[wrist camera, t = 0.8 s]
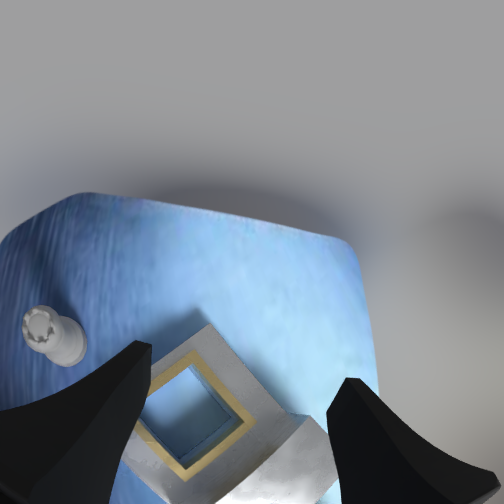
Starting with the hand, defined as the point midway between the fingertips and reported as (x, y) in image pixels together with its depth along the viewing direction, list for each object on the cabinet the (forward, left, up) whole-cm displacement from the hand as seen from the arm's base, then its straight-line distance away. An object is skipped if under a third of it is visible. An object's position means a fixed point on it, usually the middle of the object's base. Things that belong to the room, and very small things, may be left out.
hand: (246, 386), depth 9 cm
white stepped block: (-2, -7, -16) cm, 18 cm away
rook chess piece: (-7, +9, -16) cm, 20 cm away
